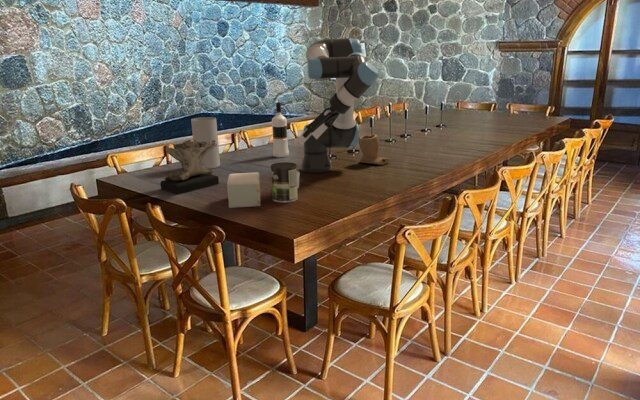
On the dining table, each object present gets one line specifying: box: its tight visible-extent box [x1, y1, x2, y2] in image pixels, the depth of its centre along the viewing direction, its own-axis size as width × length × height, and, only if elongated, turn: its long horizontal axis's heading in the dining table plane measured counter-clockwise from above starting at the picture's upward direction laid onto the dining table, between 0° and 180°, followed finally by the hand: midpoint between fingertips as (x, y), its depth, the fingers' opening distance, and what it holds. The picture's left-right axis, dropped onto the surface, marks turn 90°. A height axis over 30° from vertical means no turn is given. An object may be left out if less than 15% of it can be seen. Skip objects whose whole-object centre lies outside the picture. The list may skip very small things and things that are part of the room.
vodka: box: [271, 102, 290, 159], centre depth 281 cm, size 9×9×30 cm
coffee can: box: [270, 161, 299, 204], centre depth 201 cm, size 10×10×14 cm
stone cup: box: [358, 134, 391, 166], centre depth 258 cm, size 15×12×15 cm
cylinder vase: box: [190, 116, 221, 170], centre depth 260 cm, size 12×12×25 cm
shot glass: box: [296, 170, 301, 189], centre depth 219 cm, size 7×7×7 cm
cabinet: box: [226, 171, 261, 209], centre depth 199 cm, size 12×17×10 cm
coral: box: [160, 139, 220, 196], centre depth 222 cm, size 25×20×22 cm
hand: (307, 139), depth 191 cm, fingers open, 13 cm apart
